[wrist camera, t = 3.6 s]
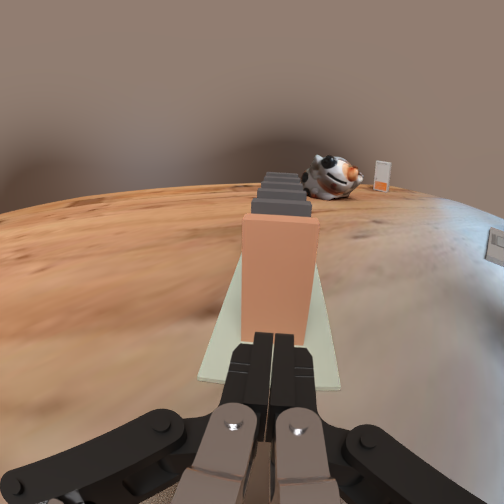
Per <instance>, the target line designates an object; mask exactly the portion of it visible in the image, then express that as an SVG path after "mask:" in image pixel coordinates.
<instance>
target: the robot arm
mask: <svg viewBox="0 0 504 504" xmlns="http://www.w3.org/2000/svg"><path fill="white" fill-rule="evenodd" d="M273 335H274V333H268V332H255V334H254V341H253V344H243V343H240V344H239V345H238V346H237V347H236V348H235V349H234V351H233V352H232V356H231V360H230V365H229V369H228V373H227V377H226V381H225V385H224V389H223V393H222V397H221V401H220V404H219V406H218V407H217V408H216V409H215V410H214V411H213V412H212V413H210V414H208V415H206V416H203V417H197V418H186V419H182V418H181V417H180V415H178V414H177V413H176V412H174V411H172V410H168V409H156V410H152V411H150V412H148V413H146V414H144V415H142V416H140V417H138V418H136V419H134V420H132V421H130V422H128V423H126V424H124V425H122V426H120V427H118V428H116V429H114V430H112V431H110V432H107V433H105V434H103V435H101V436H99V437H96V438H94V439H92V440H90V441H87V442H85V443H83V444H80V445H78V446H76V447H73V448H71V449H68V450H66V451H64V452H61V453H58V454H56V455H53V456H51V457H48V458H45V459H43V460H40V461H37V462H34V463H31V464H28V465H25V466H22V467H19V468H16V469H13V470H10V471H8V472H6V473H5V474H4V475H3V476H2V478H1V481H0V490H1V494H2V496H3V498H4V499H5V500H6V502H7V503H9V504H138V503H140V502H142V501H144V500H146V499H148V498H150V497H152V496H154V495H156V494H157V493H159V492H161V491H163V490H165V489H166V488H168V487H170V486H172V485H173V484H175V483H177V482H178V481H179V484H178V486H177V489H176V491H175V494H174V496H173V499H172V501H171V504H243V503H244V499H245V495H246V491H247V487H248V482H249V478H250V474H251V470H252V465H253V461H254V458H255V456H256V452H257V444H258V442H263V441H264V433H265V425H266V417H267V408H268V418H267V429H266V440H265V442H271V451H270V458H269V504H341V503H340V497H341V498H342V499H343V500H344V501H345V502H346V503H348V504H487V503H486V502H484V501H482V500H481V499H479V498H478V497H476V496H474V495H473V494H471V493H470V492H468V491H467V490H465V489H464V488H462V487H461V486H459V485H458V484H456V483H455V482H453V481H452V480H450V479H449V478H447V477H446V476H445V475H443V474H442V473H440V472H439V471H437V470H436V469H435V468H433V467H432V466H430V465H429V464H428V463H426V462H425V461H423V460H422V459H421V458H419V457H418V456H417V455H415V454H414V453H413V452H411V451H410V450H409V449H407V448H406V447H405V446H403V445H402V444H401V443H399V442H398V441H397V440H395V439H394V438H393V437H391V436H390V435H389V434H388V433H386V432H385V431H384V430H382V429H381V428H379V427H377V426H374V425H369V424H365V425H360V426H357V427H355V428H353V429H352V430H351V431H349V430H345V429H341V428H337V427H334V426H331V425H329V424H327V423H326V422H324V421H323V420H322V419H321V417H320V416H319V414H318V412H317V405H316V391H315V378H314V369H313V368H314V366H313V357H312V355H311V354H310V352H309V351H308V349H307V348H302V347H294V334H283V333H275V340H274V351H273V361H272V349H273ZM271 362H272V371H271ZM270 374H271V384H270ZM269 386H270V396H269ZM268 398H269V407H268Z"/></svg>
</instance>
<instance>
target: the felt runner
mask: <svg viewBox="0 0 504 504" xmlns="http://www.w3.org/2000/svg"><path fill="white" fill-rule="evenodd" d="M241 290H242V253H241V256H240V259H239V262H238V264H237V267H236V270H235V272H234V275H233V278H232V281H231V284H230V286H229V289H228V292H227V295H226V297H225V300H224V303H223V306H222V308H221V311H220V314H219V317H218V320H217V322H216V325H215V328H214V331H213V334H212V336H211V339H210V342H209V345H208V348H207V350H206V353H205V356H204V359H203V362H202V364H201V367H200V370H199V373H198V376H197V379H198V380H199V381H206V382H213V383H220V384H225V381H226V377H227V373H228V369H229V365H230V360H231V356H232V352H233V351H234V349H235V348H236V347H237V346H238V345H239V344H240V343H243V344H253V342H244V341H241ZM294 347H302V348H307V349H308V351H309V352H310V354H311V355H312V357H313V366H314V368H313V369H314V378H315V390H318V391H339V390H340V388H341V385H340V379H339V373H338V367H337V362H336V356H335V351H334V345H333V340H332V335H331V330H330V325H329V320H328V315H327V310H326V306H325V301H324V296H323V292H322V287H321V283H320V279H319V274H318V270H317V266H316V263H315V271H314V279H313V286H312V293H311V300H310V307H309V314H308V320H307V326H306V332H305V338H304V344H303V346H301V345H294ZM273 351H274V344H273V349H272V361H273ZM271 371H272V362H271ZM270 384H271V374H270ZM269 388H270V386H269Z"/></svg>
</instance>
